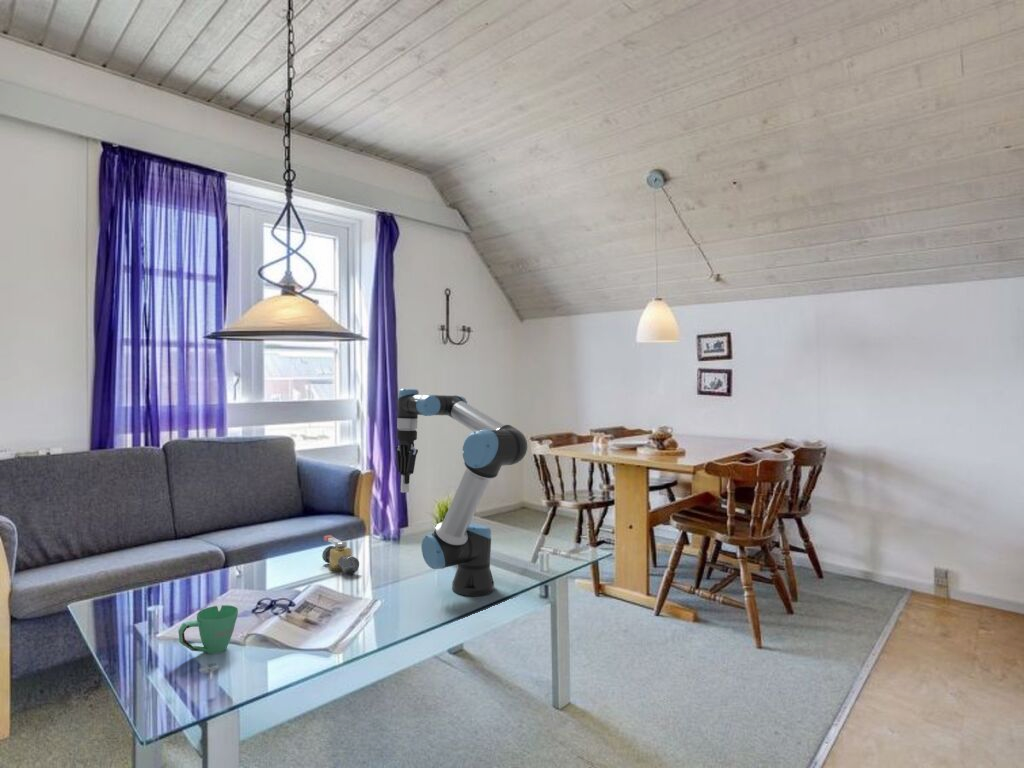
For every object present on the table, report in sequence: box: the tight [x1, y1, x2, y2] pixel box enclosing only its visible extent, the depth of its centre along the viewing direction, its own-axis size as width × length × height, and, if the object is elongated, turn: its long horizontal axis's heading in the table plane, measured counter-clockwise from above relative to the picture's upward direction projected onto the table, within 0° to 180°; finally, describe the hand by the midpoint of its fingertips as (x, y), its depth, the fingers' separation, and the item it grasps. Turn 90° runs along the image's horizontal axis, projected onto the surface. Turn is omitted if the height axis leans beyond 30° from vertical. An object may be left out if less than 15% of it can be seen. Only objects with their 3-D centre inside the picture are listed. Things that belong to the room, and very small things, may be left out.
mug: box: [178, 604, 239, 655], centre depth 151 cm, size 15×10×10 cm
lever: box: [323, 534, 348, 548], centre depth 229 cm, size 15×4×2 cm, turn 41°
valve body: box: [321, 545, 360, 576], centre depth 225 cm, size 20×8×8 cm, turn 41°
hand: (404, 492), depth 217 cm, fingers closed
